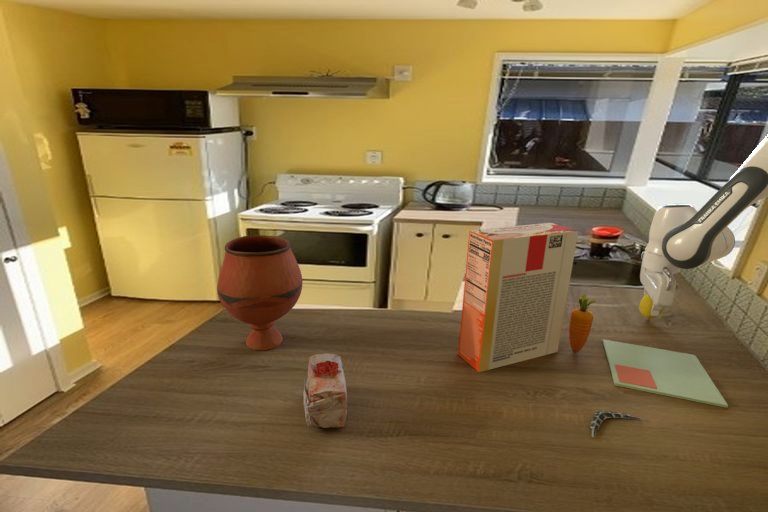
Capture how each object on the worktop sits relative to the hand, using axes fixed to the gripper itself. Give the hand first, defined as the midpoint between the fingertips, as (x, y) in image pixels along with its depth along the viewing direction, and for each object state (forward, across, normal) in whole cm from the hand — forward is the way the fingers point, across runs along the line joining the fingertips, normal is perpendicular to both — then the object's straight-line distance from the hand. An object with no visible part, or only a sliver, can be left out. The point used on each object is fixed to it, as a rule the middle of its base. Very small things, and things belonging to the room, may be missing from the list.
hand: (650, 309), depth 119 cm
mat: (+3, -29, +4) cm, 29 cm away
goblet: (+4, -51, +92) cm, 105 cm away
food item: (+4, -68, +67) cm, 95 cm away
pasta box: (+4, -34, +36) cm, 50 cm away
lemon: (+3, 0, 0) cm, 3 cm away
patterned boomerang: (+3, -52, +17) cm, 55 cm away
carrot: (+3, -28, +21) cm, 35 cm away
